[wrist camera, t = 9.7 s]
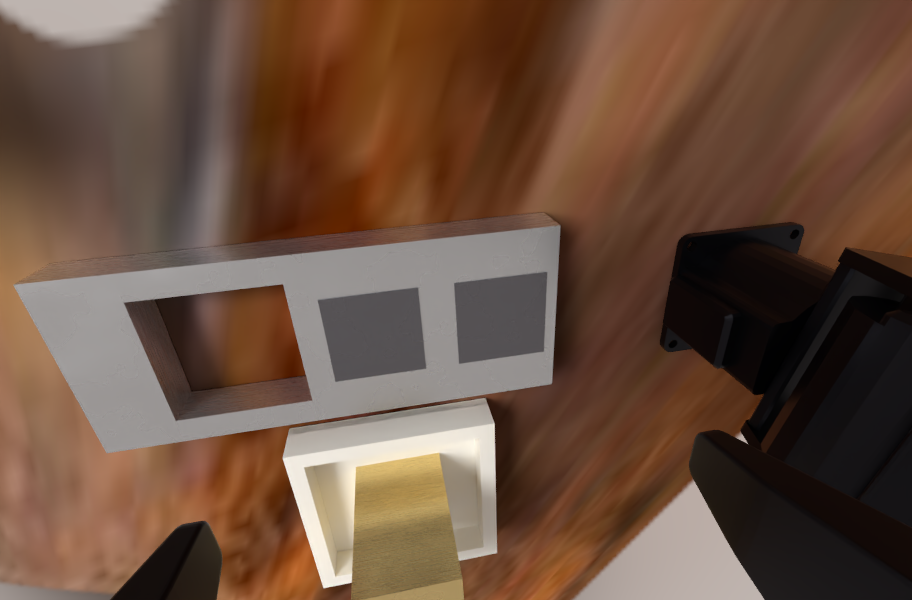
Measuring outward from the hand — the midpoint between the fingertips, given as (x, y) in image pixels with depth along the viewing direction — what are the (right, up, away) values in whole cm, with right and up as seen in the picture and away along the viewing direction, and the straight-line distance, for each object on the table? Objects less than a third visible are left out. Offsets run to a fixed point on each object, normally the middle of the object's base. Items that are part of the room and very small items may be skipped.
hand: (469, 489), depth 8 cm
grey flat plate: (-6, +3, +12) cm, 14 cm away
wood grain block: (-3, -7, +17) cm, 19 cm away
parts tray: (-3, -7, +18) cm, 19 cm away
